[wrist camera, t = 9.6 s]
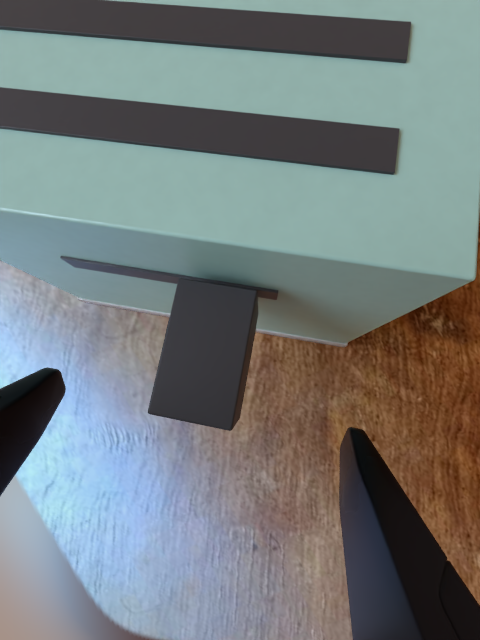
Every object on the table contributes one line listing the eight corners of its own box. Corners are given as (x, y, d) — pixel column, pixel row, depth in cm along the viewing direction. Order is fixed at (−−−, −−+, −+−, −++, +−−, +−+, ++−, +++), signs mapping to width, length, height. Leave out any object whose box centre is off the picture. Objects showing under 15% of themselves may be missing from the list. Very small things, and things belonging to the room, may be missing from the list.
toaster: (344, 347, 19) (485, 284, 7) (84, 302, 20) (-165, 188, 8) (362, 204, 20) (501, -45, 9) (120, 173, 22) (-45, -72, 10)
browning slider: (239, 419, 12) (232, 431, 9) (175, 406, 12) (146, 413, 9) (258, 312, 12) (257, 289, 9) (197, 302, 13) (178, 277, 10)
